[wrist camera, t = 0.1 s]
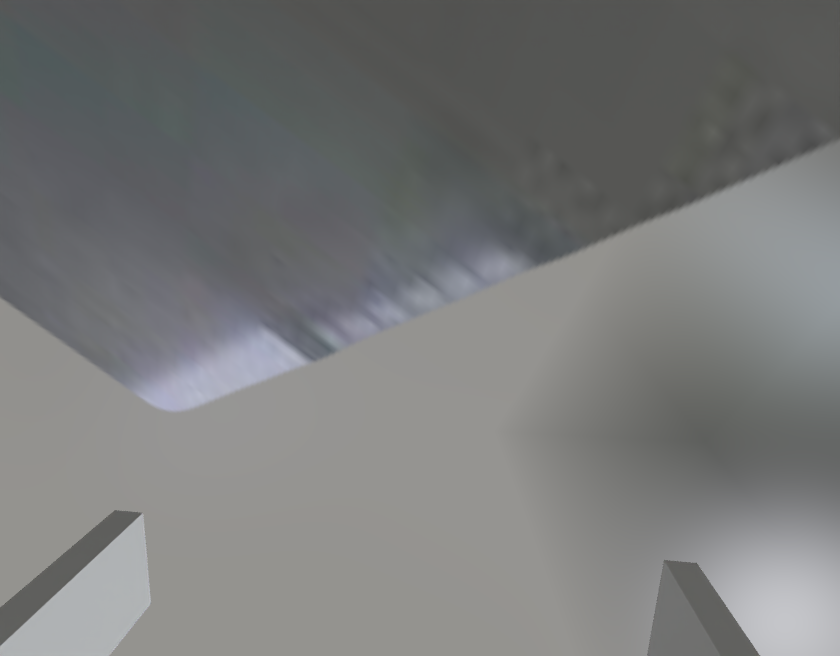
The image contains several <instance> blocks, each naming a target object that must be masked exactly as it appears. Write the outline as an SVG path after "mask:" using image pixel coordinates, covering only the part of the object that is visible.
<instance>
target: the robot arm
mask: <svg viewBox="0 0 840 656" xmlns="http://www.w3.org/2000/svg"><path fill="white" fill-rule="evenodd" d="M150 604H151V598H150V586H149V575H148V564H147V552H146V541H145V529H144V518H143V513H138V512H128V511H117V510H115V511H114V512H113V513H111V514H110V515H109V516H108V517H106V518H105V519H104V520H103V521H102V522H101V523H99V524H98V525H97V526H96V527H95V528H93V529H92V530H91V531H90V532H89V533H88V534H86V535H85V536H84V537H83V538H82V539H81V540H79V541H78V542H77V543H76V544H75V545H74V546H72V547H71V548H70V549H69V550H68V551H66V552H65V553H64V554H63V555H62V556H61V557H59V558H58V559H57V560H56V561H55V562H53V563H52V564H51V565H50V566H49V567H48V568H46V569H45V570H44V571H43V572H42V573H41V574H40V575H38V576H37V577H36V578H35V579H33V580H32V581H31V582H30V583H29V584H28V585H26V586H25V587H24V588H23V589H22V590H20V591H19V592H18V593H17V594H16V595H15V596H14V597H12V598H11V599H10V600H9V601H8V602H6V603H5V604H4V605H3V606H2V607H0V656H109V655H110V654H111V653H112V651H113V650H114V649H115V648H116V647H117V645H118V644H119V643H120V642H121V640H122V639H123V638H124V637H125V635H126V634H127V633H128V632H129V630H130V629H131V628H132V627H133V625H134V624H135V623H136V622H137V620H138V619H139V618H140V617H141V615H142V614H143V613H144V612H145V610H146V609H147V608H148V607H149V605H150ZM647 655H648V656H760V655H759V654H758V652H757V651H756V649H755V648H754V646H753V645H752V643H751V642H750V640H749V639H748V637H747V636H746V635H745V633H744V632H743V630H742V629H741V627H740V626H739V625H738V623H737V621H736V620H735V618H734V617H733V616H732V614H731V613H730V611H729V610H728V608H727V607H726V605H725V604H724V602H723V601H722V599H721V598H720V596H719V595H718V593H717V592H716V591H715V589H714V588H713V586H712V585H711V583H710V582H709V580H708V579H707V577H706V576H705V574H704V573H703V572H702V570H701V569H700V567H699V566H698V564H697V563H690V562H678V561H668V560H664V564H663V569H662V575H661V580H660V586H659V592H658V597H657V603H656V608H655V614H654V620H653V626H652V631H651V637H650V642H649V648H648V654H647Z"/></svg>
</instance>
